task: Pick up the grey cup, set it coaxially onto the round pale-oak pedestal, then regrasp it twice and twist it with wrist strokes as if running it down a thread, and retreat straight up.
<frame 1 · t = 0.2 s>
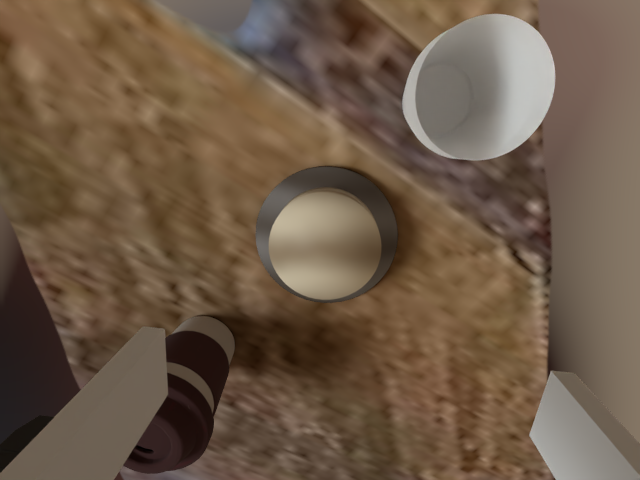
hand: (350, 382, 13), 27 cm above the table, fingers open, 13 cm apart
coffee cup: (207, 339, 45), on the table
cup: (436, 101, 35), on the table
pedestal: (326, 236, 39), on the table
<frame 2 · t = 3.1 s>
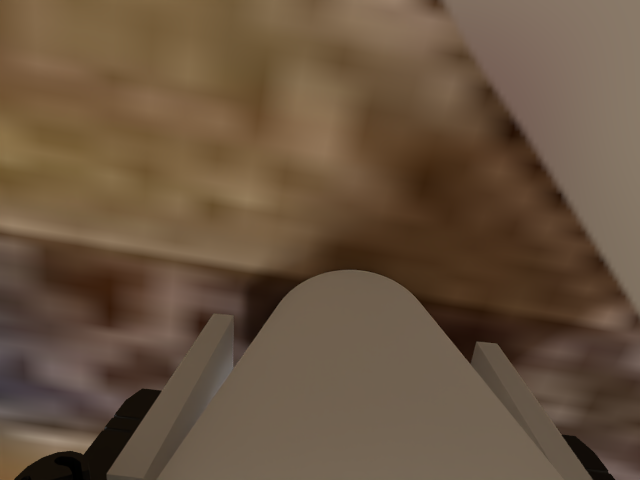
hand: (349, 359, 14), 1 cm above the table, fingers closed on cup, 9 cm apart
cup: (349, 341, 15), on the table, touching gripper
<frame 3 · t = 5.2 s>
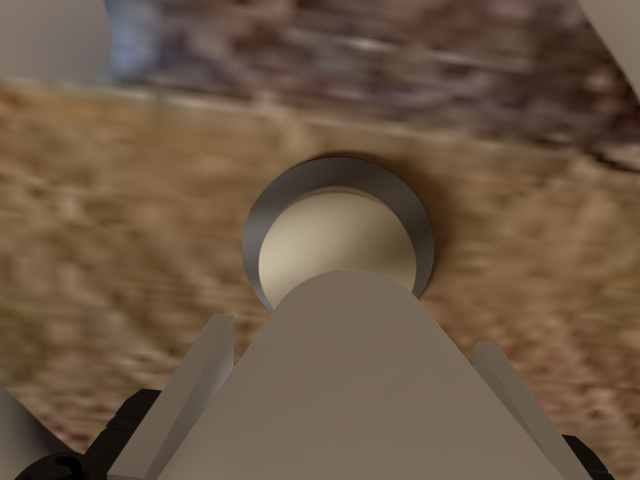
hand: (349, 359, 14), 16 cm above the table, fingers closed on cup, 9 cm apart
cup: (349, 341, 15), point 15 cm above the table, touching gripper
pedestal: (337, 251, 29), on the table
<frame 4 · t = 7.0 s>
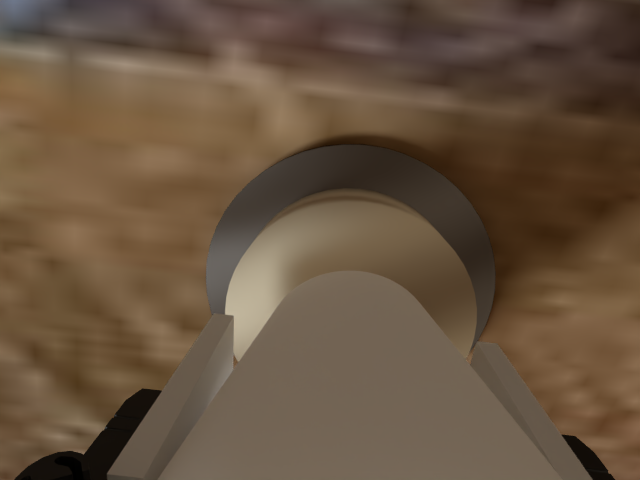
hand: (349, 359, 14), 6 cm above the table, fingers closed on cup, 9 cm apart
cup: (349, 342, 15), point 5 cm above the table, touching gripper
pedestal: (347, 286, 20), on the table
when the fingers open (6 cm above the table, at t = 7.6 s): cup moves 2 cm, resting on pedestal.
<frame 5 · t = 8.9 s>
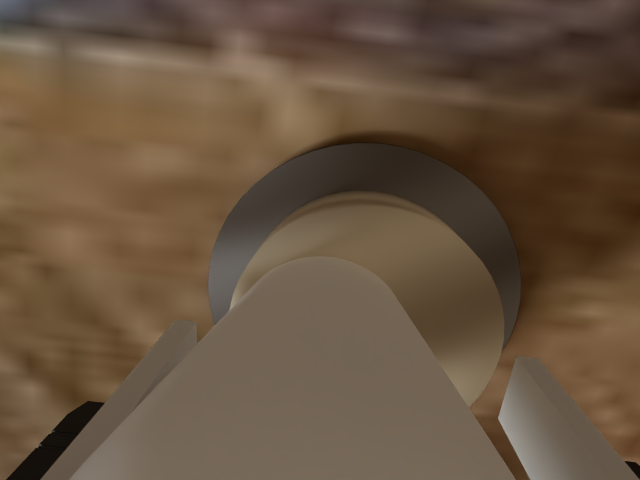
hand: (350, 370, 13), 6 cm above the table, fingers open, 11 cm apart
cup: (321, 328, 15), point 4 cm above the table, touching gripper, pedestal
pedestal: (359, 295, 19), on the table
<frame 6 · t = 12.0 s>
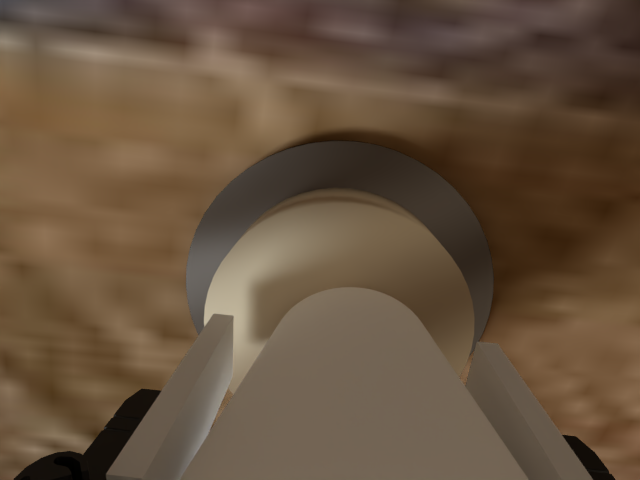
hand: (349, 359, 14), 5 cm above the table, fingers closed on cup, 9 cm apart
cup: (350, 354, 15), point 4 cm above the table, touching gripper, pedestal
pedestal: (336, 291, 19), on the table
when the fingers open (6 cm above the table, at t = 13.4 s): cup stays where it is, resting on pedestal.
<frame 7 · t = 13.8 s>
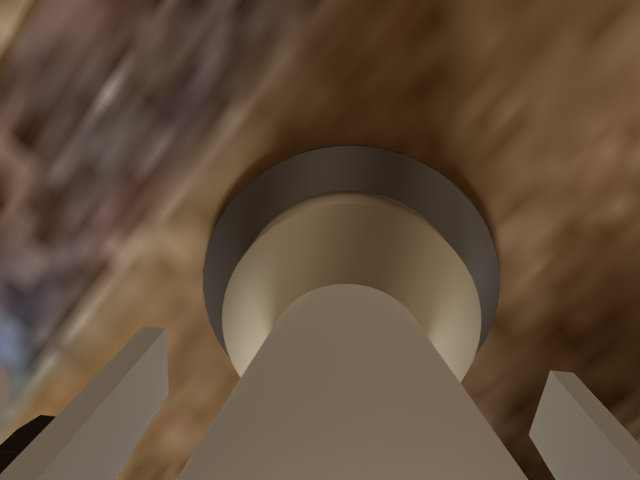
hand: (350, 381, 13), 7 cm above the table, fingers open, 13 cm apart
cup: (346, 348, 16), point 4 cm above the table, touching pedestal
pedestal: (347, 290, 19), on the table
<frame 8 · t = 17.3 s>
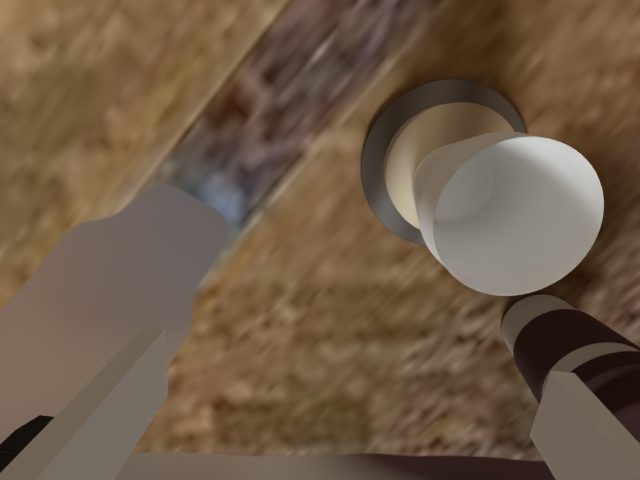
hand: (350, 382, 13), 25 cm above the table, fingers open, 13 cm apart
coffee cup: (534, 322, 39), on the table
cup: (450, 184, 31), point 4 cm above the table, touching pedestal
pedestal: (441, 167, 34), on the table
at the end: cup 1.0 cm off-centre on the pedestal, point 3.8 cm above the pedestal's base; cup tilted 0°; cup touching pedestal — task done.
